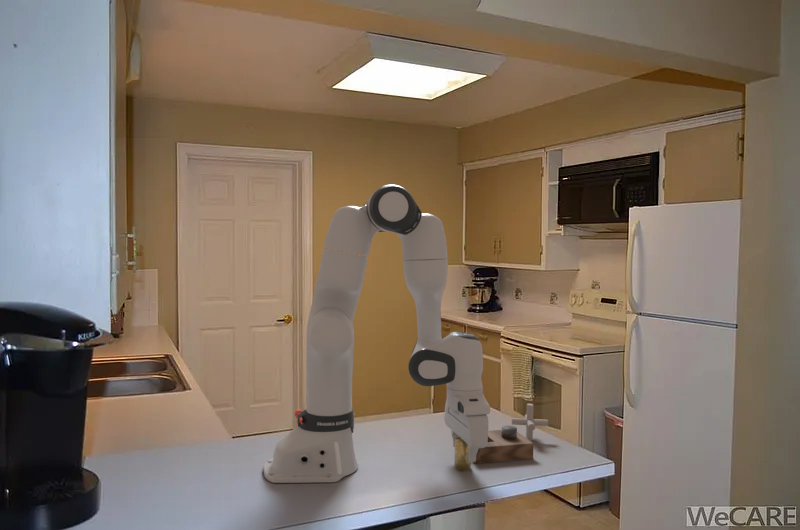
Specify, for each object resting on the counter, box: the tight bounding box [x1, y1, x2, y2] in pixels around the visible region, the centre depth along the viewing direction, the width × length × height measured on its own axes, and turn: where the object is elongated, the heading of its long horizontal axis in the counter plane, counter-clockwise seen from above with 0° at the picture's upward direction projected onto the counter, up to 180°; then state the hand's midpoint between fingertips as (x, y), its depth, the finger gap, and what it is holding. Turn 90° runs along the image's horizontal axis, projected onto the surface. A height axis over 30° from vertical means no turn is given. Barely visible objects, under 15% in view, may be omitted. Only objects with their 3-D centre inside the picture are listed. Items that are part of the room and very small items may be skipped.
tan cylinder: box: [453, 437, 472, 472], centre depth 148 cm, size 4×4×7 cm
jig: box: [473, 425, 534, 465], centre depth 158 cm, size 16×12×6 cm
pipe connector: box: [511, 403, 549, 442], centre depth 170 cm, size 10×10×10 cm
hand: (464, 454), depth 148 cm, fingers open, 8 cm apart
